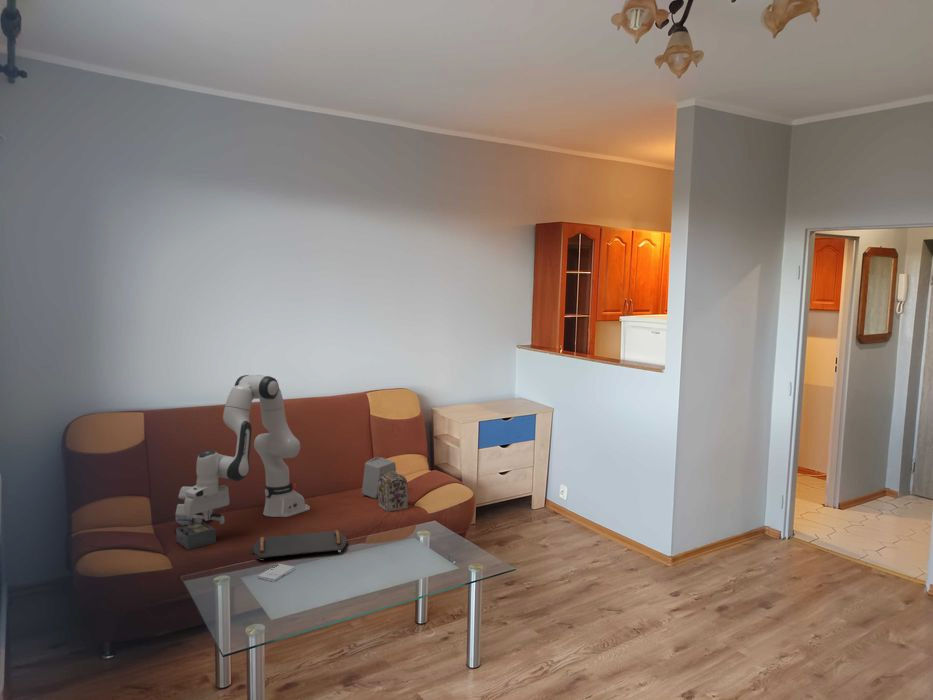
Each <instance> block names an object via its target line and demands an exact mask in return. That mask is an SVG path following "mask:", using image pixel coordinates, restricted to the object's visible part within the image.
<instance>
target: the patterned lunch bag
mask: <svg viewBox="0 0 933 700" xmlns="http://www.w3.org/2000/svg"><path fill="white" fill-rule="evenodd" d="M408 486H409V485H408V480H407V478H406V476H405V475H403V474H399V473H398V472H397V471H396V472H389V473H388V474H387V475H384V476H382V477H381V478H380V479H379V480H378V498H377V499H378V502H377V503H378V506H379V507H380V508H381V509H383V510H384V511H385V512H387V513H388V512H395V511H401V510H402V511H403V510H407V509H408V508H409V507H408V506H409V505H408V503H409V495H408V494H409V487H408Z"/></svg>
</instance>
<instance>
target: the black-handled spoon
mask: <svg viewBox="0 0 933 700" xmlns="http://www.w3.org/2000/svg"><path fill="white" fill-rule="evenodd" d="M195 518H197V519H202V520H205V516H204V515H203V513H197V514H193V515H187V519H189V520H191V519H195ZM209 521H217V522H218V521H219V525H223V524H225V515H222V514H218V513H212V514H211V516H210V520H209Z"/></svg>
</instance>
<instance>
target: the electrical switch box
mask: <svg viewBox="0 0 933 700" xmlns="http://www.w3.org/2000/svg"><path fill="white" fill-rule="evenodd" d="M389 472H397V467H396V462H395V461H394V460H390V459H387V458H385V457H383V456H382V457H381V456H380V457H373V458H371V459H369V460H368V461H366V462H365V464H364V472H363V478H362V479H363V481H362V486H361V487H362V489H361V494H362V495H364V496H367V497H370V498H372V499H378V480H379V479H380V478H381V477H382V476H384V475H387V474H388V473H389Z"/></svg>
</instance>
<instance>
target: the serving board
mask: <svg viewBox="0 0 933 700" xmlns="http://www.w3.org/2000/svg"><path fill="white" fill-rule="evenodd" d="M343 541H345V542H343ZM347 541H348V539H347V537H346V536H345V535H344V534H343V533H342V532H340V531H339V530H338V529H335V530H329V531H327V530H326V531H317V532H309V533H308V532H307V533H296V534H294V533H293V534H283V535H276V536H274V535H272V536H261V537H260V538H259V539H258V540H257V541H255V542H254V544H253V545H252V553H253V554H254V555H255V556H256V557H258V558H259V559H258V560H259V561H260V559H264V558H265V559H267V558H274V557H275V556H276V557H283V556H284V557H285V556H294V555H295V556H296V555H302V554H303V555H305V554H314V553H326V552H333V551H336V552H337V550H342V551H343V550H344V549H345V548H346V546H347V544H348V542H347ZM302 550H303V551H302ZM297 551H301V552H297Z"/></svg>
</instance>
